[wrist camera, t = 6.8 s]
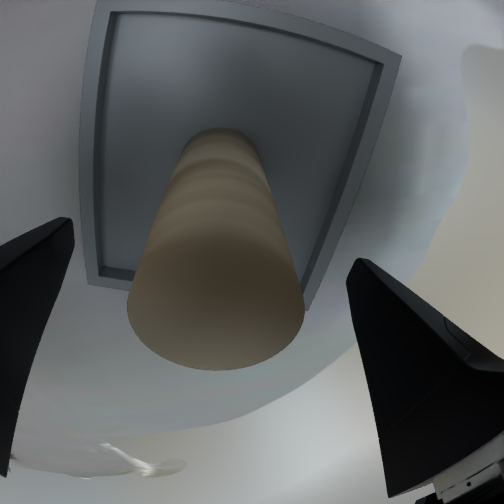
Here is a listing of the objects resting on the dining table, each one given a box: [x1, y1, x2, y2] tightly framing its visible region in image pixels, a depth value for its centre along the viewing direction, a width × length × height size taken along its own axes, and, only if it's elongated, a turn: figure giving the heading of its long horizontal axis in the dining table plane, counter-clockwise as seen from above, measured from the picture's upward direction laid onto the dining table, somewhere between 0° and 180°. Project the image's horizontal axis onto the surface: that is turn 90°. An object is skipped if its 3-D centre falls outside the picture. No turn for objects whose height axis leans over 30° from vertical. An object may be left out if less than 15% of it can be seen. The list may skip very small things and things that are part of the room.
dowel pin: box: [127, 127, 305, 371], centre depth 11 cm, size 4×4×10 cm
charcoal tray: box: [79, 0, 402, 311], centre depth 15 cm, size 16×14×2 cm
